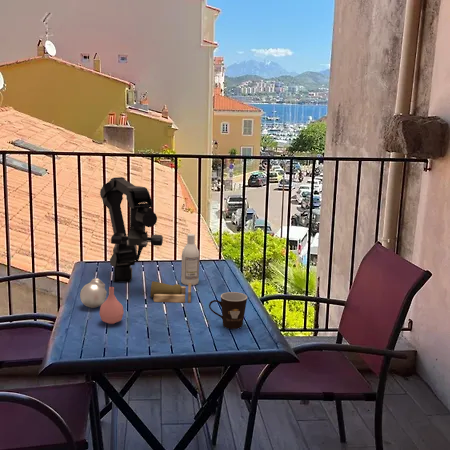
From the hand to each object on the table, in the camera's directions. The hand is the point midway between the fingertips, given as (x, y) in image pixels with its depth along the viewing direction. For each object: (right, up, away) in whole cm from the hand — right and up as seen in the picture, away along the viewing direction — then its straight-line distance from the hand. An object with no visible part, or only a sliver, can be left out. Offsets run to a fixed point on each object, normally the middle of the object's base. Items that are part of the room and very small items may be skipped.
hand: (137, 261), depth 212 cm
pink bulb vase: (-4, -18, -29) cm, 35 cm away
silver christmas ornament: (-12, -15, -16) cm, 25 cm away
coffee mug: (+34, -19, -27) cm, 48 cm away
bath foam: (+19, -10, +13) cm, 25 cm away
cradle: (+14, -13, -4) cm, 19 cm away
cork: (+6, -10, -5) cm, 13 cm away
